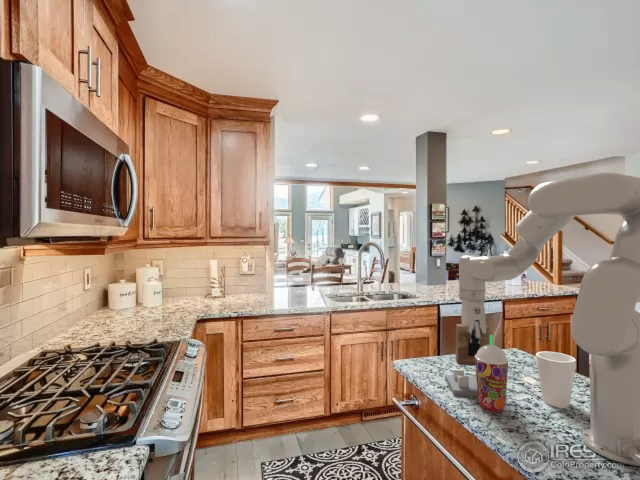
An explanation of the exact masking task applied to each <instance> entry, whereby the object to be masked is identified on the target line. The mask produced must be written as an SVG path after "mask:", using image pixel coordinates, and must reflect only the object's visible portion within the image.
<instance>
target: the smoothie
mask: <svg viewBox="0 0 640 480" xmlns="http://www.w3.org/2000/svg"><path fill="white" fill-rule="evenodd" d="M475 365H476V366H475V376H476V379H477V394H478V397H477V401H478V403H479V405H480V407H481V409H483V410H484V411H487V412H490V413H501V412H503V411H504V408H505V407H506V403H507V388H508V387H507V385H508V373H509V372H508V370H509V359H508V358H507V355H506V353H505V352H504V350H502V348H500V347H498V346H497V345H495V344H493V334H489V345H484V346H482V347H481V348H480V349H479V350H478V351H477V354H476V355H475Z"/></svg>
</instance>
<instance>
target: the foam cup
mask: <svg viewBox="0 0 640 480" xmlns="http://www.w3.org/2000/svg"><path fill="white" fill-rule="evenodd" d="M535 363H536V366H537V370H538V371H537V372H538V378H539V379H538V380H539V385H540V391H541V398H542V402H543V403H545V404H547V405H549V406H552V407H555V408H561V409H563V408H564V409H565V408H569V407H570V403H571V397H572V393H573V392H572V391H573V385H574V377H575V372H576V369H577V360H576V358H575V357H573V356H571V355H569V354H565V353H561V352H557V351H556V352H555V351H548V350H547V351H546V350H544V351H543V350H542V351H538V352H536V353H535Z"/></svg>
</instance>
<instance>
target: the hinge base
mask: <svg viewBox="0 0 640 480" xmlns="http://www.w3.org/2000/svg"><path fill="white" fill-rule="evenodd" d="M452 372H453V373H452V374H444V380H445V382H446V384H447V386H448V387H449V389H450V392H451V393H452V395H453V396H461V397H477V398H478V394H477V379H476V375H465V371H464V369H463V368H452Z"/></svg>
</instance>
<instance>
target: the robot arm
mask: <svg viewBox="0 0 640 480" xmlns="http://www.w3.org/2000/svg"><path fill="white" fill-rule="evenodd" d="M527 206H528V208H529V211H528V212H527V213H526V214H525V215H524V216H523V217H522V218H521V219H520V220H519V221H518V222H517V223H516V225H515V227H514V229H515V231H516V233H517V235H518V237H519V238H518V240H517V241H516V242H515V244H514V245H513V246H512V247H511V248H510V249H509V250H508V251H507V252H506V253H505V254H503V255H502V254H501V255H499V254H498V255H486V256H483V255H473V254H472V255H470V254H469V255H468V254H467V255H465V254H464V255H461V256H460V257H459V259H458V274H459V275H458V277H459V278H458V300H460V301H461V315H460V316H461V324H464V325H465V326H466V330H467V332H469V342H470V343H469V342H468V355H469V356H475V355H476V354H477V351H478V350H479V349H480V338H481V336H480V331H481V333H482V334H485V333H486V325H487V324H486V323H487V322H486V309H485V302H486V282H487V283H494V282H503V281H510V280H514V279H516V278H517V277H519V276H521V275H522V274H524V272H526V270H528V269H529V268H530V267H532V265H533V264H534V263H535V262H536V261H537V259H538V258H539V257H540V255H541V253H542V251H543V249H544V246H545V245H546V244H547V243H548V242H549V241H550V240H552V239H553V238H554V237H555V236H556V235H557V234H558V233H559V232H560V231H561V230H562V229H563V228H564V227H566V226H567V225H568V224H569V223H570V222H571V221H572V220H573V219H574V218H576V217H577V216H585V215H587V216H588V215H619V216H620V217H622V222H621V224H620V226H619V228H618V230H617V232H616V234H615V238H614V241H613V247H612V250H611V252H610V256H609V258H608V259H604V260H599V261H597V262H596V263H594V264H592V265H591V266H590V267H588V269H587V270H586V271H585V273H584V275H583V277H582V280H581V282H580V286H579V290H578V293H577V294H578V295H577V298H576V301H575V305H574V309H573V313H572V318H571V324H570V330H571V335H572V338H573V340H574V342H575V344H576V345H577V347H579V348H580V349H582V350H583V351H585V352H586V353H587V354H590V362H589V364H590V365H589V367H590V368H589V371H590V372H589V409H590V410H589V412H590V413H589V416H590V417H589V418H590V421H589V423H590V424H589V425H590V426H589V428H587V429H585V430H583V432H582V433H581V440H582V443H584V445H585V446H586V447H588V449H590V450H592V451H593V452H594V453H596V454H598V455H600V456H602V457H605V458H607V459H609V460H612V461H614V462H618V463H621V464H625V465H630V466H637V467H640V311H638V310H636V305H637V303H640V177H638V176H633V175H628V174H620V173H615V172H599V173H598V172H597V173H591V174H587V175H581V176H575V177H568V178H562V179H555V180H549V181H545V182H543V183H540V184H538V185H537V186H536V187H534V188H533V189H532V190H531V192H530V193H529V195H528V199H527ZM479 327H480V329H479ZM472 331H475V333H472ZM472 335H474V336H473V337H472Z"/></svg>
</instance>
